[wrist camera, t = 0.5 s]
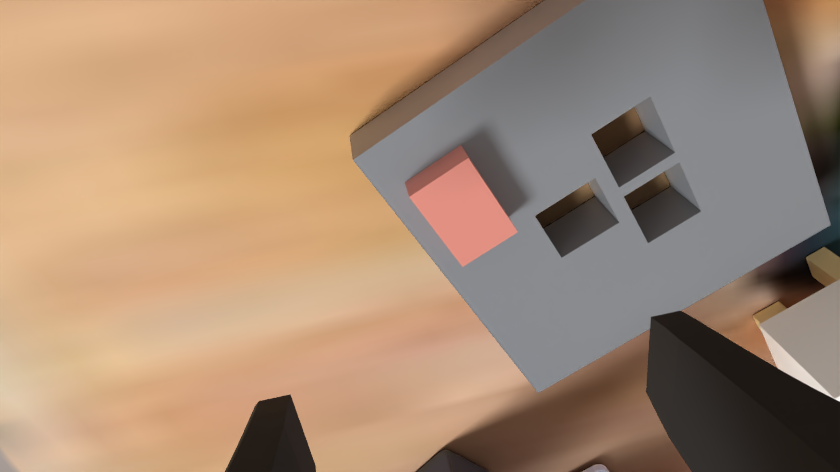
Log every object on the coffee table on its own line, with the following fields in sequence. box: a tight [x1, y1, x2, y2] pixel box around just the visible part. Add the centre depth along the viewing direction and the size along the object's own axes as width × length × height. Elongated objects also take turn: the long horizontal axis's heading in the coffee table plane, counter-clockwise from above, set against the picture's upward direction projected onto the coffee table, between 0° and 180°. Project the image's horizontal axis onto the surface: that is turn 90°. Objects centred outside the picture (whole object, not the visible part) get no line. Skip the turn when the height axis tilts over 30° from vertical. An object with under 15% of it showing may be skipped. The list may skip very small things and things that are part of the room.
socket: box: [350, 0, 831, 393], centre depth 20 cm, size 12×12×3 cm
